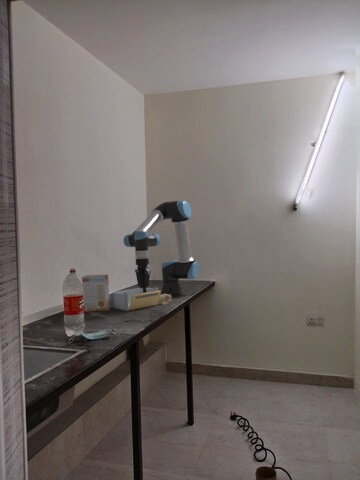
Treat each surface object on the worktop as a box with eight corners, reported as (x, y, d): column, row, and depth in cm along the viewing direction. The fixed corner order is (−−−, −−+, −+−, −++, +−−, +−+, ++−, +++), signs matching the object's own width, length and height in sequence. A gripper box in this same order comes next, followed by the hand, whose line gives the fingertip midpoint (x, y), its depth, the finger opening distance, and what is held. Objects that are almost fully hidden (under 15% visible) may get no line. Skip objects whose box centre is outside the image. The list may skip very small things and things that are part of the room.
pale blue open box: (144, 303, 242) (143, 285, 242) (158, 306, 231) (157, 287, 231) (113, 309, 229) (112, 290, 228) (126, 312, 217) (125, 293, 217)
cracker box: (110, 310, 227) (108, 274, 226) (106, 312, 221) (104, 275, 220) (88, 310, 230) (86, 274, 229) (83, 312, 224) (81, 276, 223)
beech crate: (165, 303, 239) (164, 293, 239) (172, 304, 234) (171, 294, 234) (157, 305, 235) (156, 295, 235) (163, 306, 230) (163, 296, 230)
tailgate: (156, 303, 230) (160, 290, 227) (157, 305, 229) (161, 291, 226) (128, 309, 218) (132, 295, 214) (130, 310, 217) (133, 296, 214)
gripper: (130, 258, 225) (132, 298, 225) (142, 258, 215) (144, 301, 215) (141, 257, 229) (143, 296, 230) (154, 257, 219) (155, 299, 220)
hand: (143, 299), depth 223 cm, fingers closed
